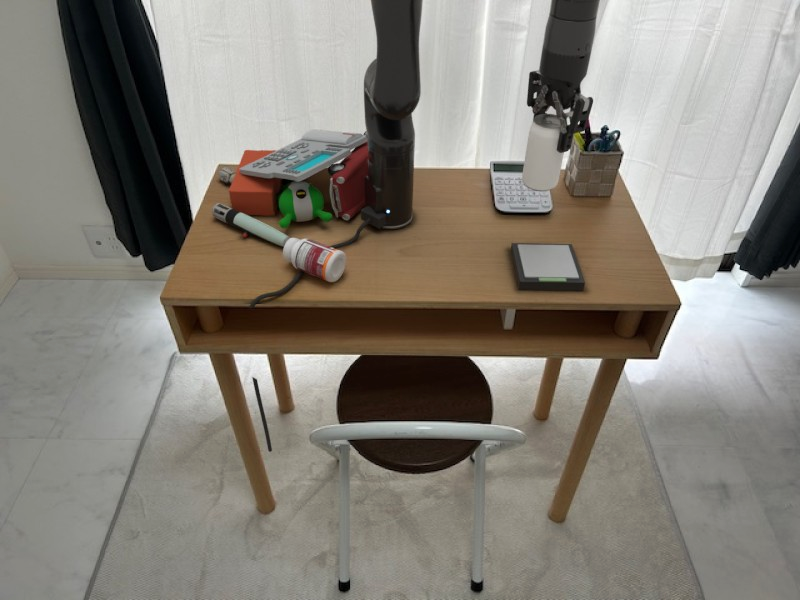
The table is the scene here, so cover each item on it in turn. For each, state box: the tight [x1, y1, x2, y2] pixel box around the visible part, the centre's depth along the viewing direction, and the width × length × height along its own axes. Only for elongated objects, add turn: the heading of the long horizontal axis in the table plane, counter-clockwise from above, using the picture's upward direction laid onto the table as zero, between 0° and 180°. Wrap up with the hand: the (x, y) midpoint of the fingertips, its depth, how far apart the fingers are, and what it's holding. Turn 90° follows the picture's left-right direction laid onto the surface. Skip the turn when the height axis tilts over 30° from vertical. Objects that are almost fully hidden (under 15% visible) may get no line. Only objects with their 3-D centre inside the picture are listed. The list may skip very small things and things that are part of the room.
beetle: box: [218, 167, 237, 187], centre depth 140 cm, size 4×7×3 cm, turn 70°
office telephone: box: [239, 129, 367, 182], centre depth 132 cm, size 23×3×20 cm
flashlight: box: [211, 202, 291, 248], centre depth 126 cm, size 3×4×20 cm
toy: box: [277, 180, 333, 229], centre depth 130 cm, size 11×8×15 cm
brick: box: [228, 149, 283, 217], centre depth 136 cm, size 18×9×6 cm, turn 0°
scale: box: [509, 242, 586, 292], centre depth 118 cm, size 12×12×2 cm
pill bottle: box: [282, 237, 347, 283], centre depth 116 cm, size 6×6×11 cm
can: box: [521, 113, 565, 192], centre depth 108 cm, size 6×6×12 cm
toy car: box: [327, 130, 368, 221], centre depth 135 cm, size 11×25×10 cm
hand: (550, 142), depth 107 cm, fingers closed on can, 6 cm apart
